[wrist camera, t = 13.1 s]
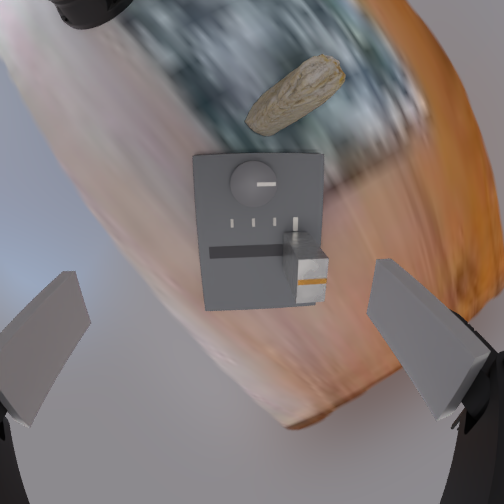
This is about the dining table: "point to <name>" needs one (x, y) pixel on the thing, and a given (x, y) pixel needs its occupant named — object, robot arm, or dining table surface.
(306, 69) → the fossil tooth
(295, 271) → the fader
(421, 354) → the robot arm
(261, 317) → the dining table surface
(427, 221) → the dining table surface
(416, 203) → the dining table surface
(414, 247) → the dining table surface
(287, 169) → the console
